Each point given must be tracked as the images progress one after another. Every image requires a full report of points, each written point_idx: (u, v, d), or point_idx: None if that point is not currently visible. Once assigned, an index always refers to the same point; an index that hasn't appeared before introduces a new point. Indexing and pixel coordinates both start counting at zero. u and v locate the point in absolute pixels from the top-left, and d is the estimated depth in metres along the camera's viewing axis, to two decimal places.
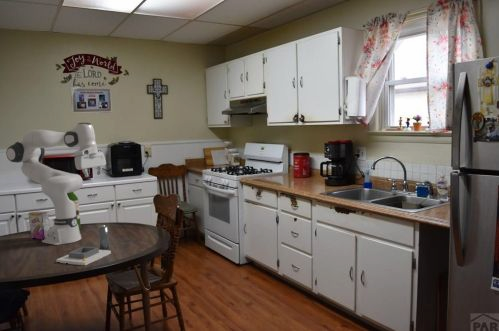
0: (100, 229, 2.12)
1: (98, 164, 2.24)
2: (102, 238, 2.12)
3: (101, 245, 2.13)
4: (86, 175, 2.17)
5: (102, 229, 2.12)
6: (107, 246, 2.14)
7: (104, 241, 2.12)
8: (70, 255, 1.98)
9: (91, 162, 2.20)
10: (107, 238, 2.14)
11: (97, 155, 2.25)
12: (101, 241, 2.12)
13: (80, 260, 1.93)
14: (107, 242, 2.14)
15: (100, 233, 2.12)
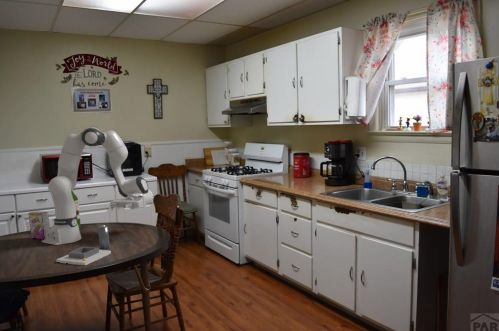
0: (100, 229, 2.12)
1: (120, 207, 2.32)
2: (102, 238, 2.12)
3: (101, 245, 2.13)
4: (126, 206, 2.24)
5: (102, 229, 2.12)
6: (107, 246, 2.14)
7: (104, 241, 2.12)
8: (70, 255, 1.98)
9: None
10: (107, 238, 2.14)
11: None
12: (101, 241, 2.12)
13: (80, 260, 1.93)
14: (107, 242, 2.14)
15: (100, 233, 2.12)
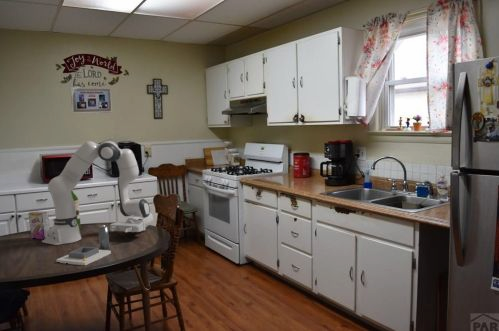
0: (100, 229, 2.12)
1: None
2: (102, 238, 2.12)
3: (101, 245, 2.13)
4: (126, 230, 2.24)
5: (102, 229, 2.12)
6: (107, 246, 2.14)
7: (104, 241, 2.12)
8: (70, 255, 1.98)
9: None
10: (107, 238, 2.14)
11: None
12: (101, 241, 2.12)
13: (80, 260, 1.93)
14: (107, 242, 2.14)
15: (100, 233, 2.12)
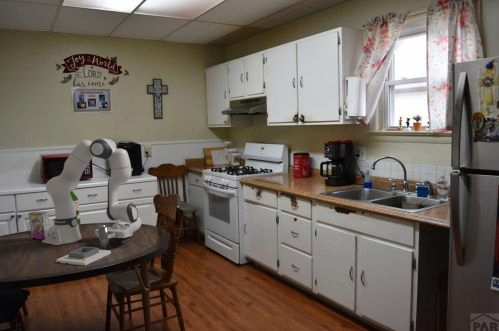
0: (100, 229, 2.12)
1: None
2: (102, 238, 2.12)
3: (101, 245, 2.13)
4: (109, 236, 2.13)
5: (102, 229, 2.12)
6: (107, 246, 2.14)
7: (104, 241, 2.12)
8: (70, 255, 1.98)
9: None
10: (107, 238, 2.14)
11: None
12: (101, 241, 2.12)
13: (80, 260, 1.93)
14: (107, 242, 2.14)
15: (100, 233, 2.12)
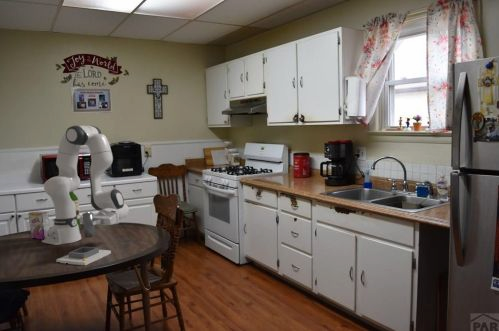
0: (84, 215, 2.01)
1: None
2: (86, 225, 2.01)
3: (85, 232, 2.02)
4: (94, 223, 2.02)
5: (86, 215, 2.01)
6: (92, 233, 2.03)
7: (89, 227, 2.02)
8: (70, 255, 1.98)
9: None
10: (92, 225, 2.03)
11: None
12: (85, 228, 2.02)
13: (80, 260, 1.93)
14: (92, 229, 2.03)
15: (84, 220, 2.01)
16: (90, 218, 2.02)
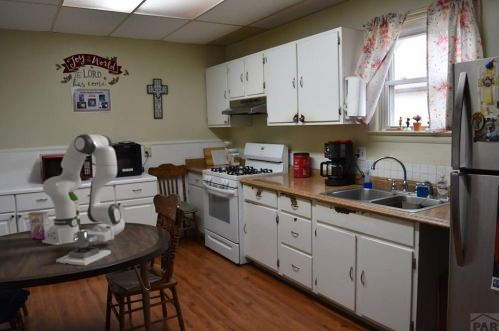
0: (78, 234, 1.98)
1: None
2: (80, 244, 1.98)
3: (80, 251, 1.99)
4: (91, 240, 1.98)
5: (80, 234, 1.98)
6: None
7: (83, 246, 1.98)
8: (70, 255, 1.98)
9: None
10: (86, 244, 2.00)
11: None
12: (79, 247, 1.98)
13: (80, 260, 1.93)
14: (86, 248, 2.00)
15: (78, 239, 1.98)
16: (84, 237, 1.99)
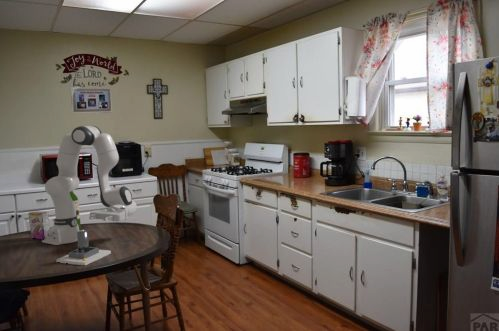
0: (79, 234, 1.98)
1: None
2: (81, 244, 1.98)
3: (80, 251, 1.99)
4: (106, 219, 2.10)
5: (81, 234, 1.98)
6: None
7: (83, 246, 1.98)
8: (70, 255, 1.98)
9: None
10: (86, 244, 2.00)
11: None
12: (80, 247, 1.98)
13: (80, 260, 1.93)
14: (86, 248, 2.00)
15: (79, 239, 1.98)
16: (85, 237, 1.99)
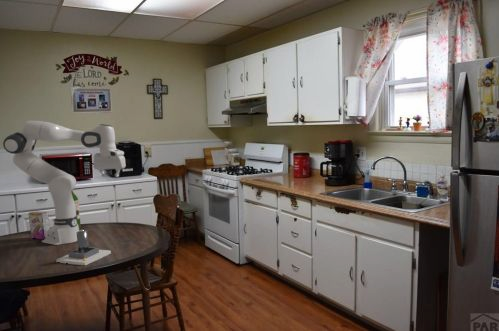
0: (78, 234, 1.98)
1: None
2: (81, 243, 1.98)
3: (80, 251, 1.99)
4: (118, 175, 2.26)
5: (81, 234, 1.98)
6: None
7: (83, 246, 1.99)
8: (70, 255, 1.98)
9: None
10: (86, 243, 2.00)
11: None
12: (80, 247, 1.98)
13: (80, 260, 1.93)
14: (86, 248, 2.00)
15: (79, 238, 1.98)
16: (84, 236, 1.99)
